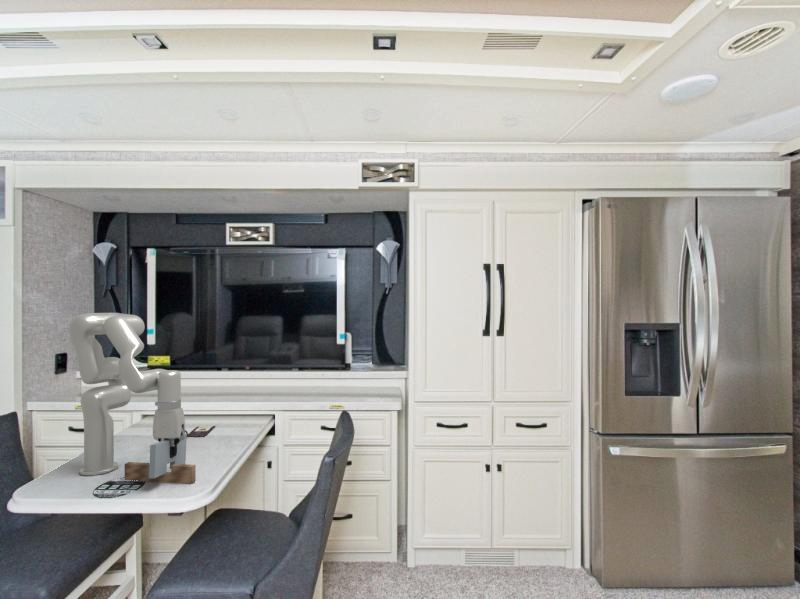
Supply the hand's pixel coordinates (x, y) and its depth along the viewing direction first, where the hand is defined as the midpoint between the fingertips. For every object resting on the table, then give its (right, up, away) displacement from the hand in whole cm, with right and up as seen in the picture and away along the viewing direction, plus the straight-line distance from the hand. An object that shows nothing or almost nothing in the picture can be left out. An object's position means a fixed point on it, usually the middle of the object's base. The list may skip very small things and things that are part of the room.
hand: (170, 456), depth 167 cm
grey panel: (0, -5, -1) cm, 5 cm away
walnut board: (-3, -9, -1) cm, 9 cm away
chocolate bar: (-16, -10, +62) cm, 65 cm away
